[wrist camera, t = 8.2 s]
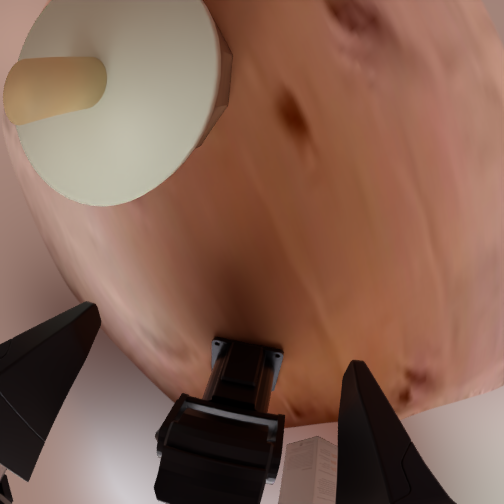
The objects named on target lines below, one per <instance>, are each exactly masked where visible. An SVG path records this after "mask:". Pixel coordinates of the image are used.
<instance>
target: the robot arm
mask: <svg viewBox="0 0 504 504" xmlns="http://www.w3.org/2000/svg"><path fill="white" fill-rule="evenodd" d="M100 326H101V318H100V314H99V311H98V307H97V305H96V304H95V303H92V302H89V301H86V302H83V303H81V304H79V305H78V306H75V307H73V308H71V309H69V310H67V311H65V312H63V313H61V314H59V315H57V316H55V317H53V318H51V319H49V320H47V321H45V322H43V323H41V324H39V325H37V326H35V327H33V328H31V329H29V330H27V331H25V332H23V333H21V334H19V335H17V336H16V337H14V338H13V339H10V340H8V341H6V342H4V343H2V344H0V504H12V502H13V498H12V495H11V491H10V487H9V483H8V479H7V476H6V475H5V472H6V470H7V469H8V470H10V471H11V472H13V473H14V474H16V475H17V476H19V477H20V478H22V479H23V480H25V481H27V482H28V481H29V480H30V477H31V474H32V472H33V469H34V467H35V465H36V462H37V460H38V457H39V455H40V453H41V450H42V448H43V446H44V443H45V442H44V441H46V439H47V436H48V434H49V432H50V430H51V427H52V425H53V423H54V421H55V419H56V417H57V415H58V413H59V410H60V409H61V407H62V404H63V402H64V400H65V398H66V396H67V394H68V392H69V390H70V388H71V387H72V384H73V383H74V381H75V379H76V377H77V375H78V373H79V371H80V369H81V368H82V366H83V364H84V362H85V360H86V358H87V356H88V353H89V351H90V349H91V347H92V344H93V342H94V340H95V337H96V335H97V333H98V330H99V328H100ZM283 355H284V352H283V351H282V350H280V349H276V348H270V347H264V346H259V345H254V344H249V343H244V342H239V341H234V340H229V339H224V338H220V337H214V338H213V341H212V373H211V375H210V378H209V381H208V384H207V387H206V390H205V392H204V395H203V398H202V399H199V398H196V397H192V396H189V395H188V394H185V393H182V394H181V396H180V398H179V399H177V400H176V402H175V404H174V406H173V407H172V409H171V411H170V412H169V414H168V416H167V417H166V419H165V421H164V422H163V424H162V426H161V427H160V429H159V430H158V431H157V432H156V434H155V438H156V440H157V442H158V443H157V456H158V457H159V458H161V461H160V466H159V471H158V475H157V478H156V481H155V485H154V490H155V494H156V498H157V500H158V501H161V502H164V503H166V504H260V502H261V498H262V494H263V490H264V486H265V484H271V485H272V484H274V482H275V479H276V476H277V473H278V469H279V465H280V460H281V454H282V445H283V434H284V422H285V415H282V414H278V415H276V414H270V413H267V412H268V406H269V401H270V395H271V391H274V388H275V385H276V381H277V378H278V374H279V371H280V367H281V363H282V360H283ZM335 504H457V503H455V502H454V501H453V500H452V499H451V498H450V497H449V496H448V494H447V493H446V492H445V490H444V489H443V487H442V486H441V485H440V483H439V482H438V481H437V479H436V478H435V476H434V475H433V474H432V472H431V471H430V469H429V468H428V466H427V465H426V464H425V462H424V461H423V459H422V457H421V456H420V454H419V452H418V451H417V449H416V447H415V445H414V444H413V442H411V439H410V437H409V435H408V434H407V432H406V430H405V428H404V427H403V425H402V423H401V421H400V420H399V418H398V416H397V415H396V413H395V411H394V410H393V408H392V406H391V405H390V403H389V401H388V399H387V398H386V396H385V395H384V393H383V391H382V390H381V388H380V386H379V385H378V383H377V381H376V380H375V378H374V376H373V375H372V373H371V372H370V370H369V368H368V367H367V365H366V363H365V362H364V361H360V360H352V361H351V362H350V364H349V366H348V368H347V370H346V372H345V373H344V376H343V380H342V390H341V399H340V408H339V417H338V457H337V483H336V500H335Z"/></svg>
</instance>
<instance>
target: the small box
mask: <svg viewBox="0 0 504 504" xmlns="http://www.w3.org/2000/svg"><path fill="white" fill-rule="evenodd" d="M337 457H338V446H336V445H334V444H332V443H330V442H328V441H326V440H325V439H323V438H321V437H319V436H316V437H312V438H309V439H306V440H302V441H298V442H294V443H291V444H287V445H286V453H285V461H284V468H283V475H282V482H281V488H280V495H279V502H278V504H335V500H336V483H337Z"/></svg>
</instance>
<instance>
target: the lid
mask: <svg viewBox="0 0 504 504" xmlns="http://www.w3.org/2000/svg"><path fill="white" fill-rule="evenodd" d="M220 77H221V52H220V43H219V37H218V34H217V30H216V26H215V23H214V21H213V18H212V16H211V14H210V12H209V10H208V8H207V6H206V5H205V3H204V2H203V1H202V0H52V1H51V2H50V3H49V4H48V5H47V6H46V7H45V9H44V10H43V11H42V13H41V14H40V15H39V17H38V18H37V20H36V21H35V23H34V25H33V26H32V28H31V30H30V32H29V33H28V36H27V38H26V40H25V42H24V45H23V47H22V50H21V53H20V56H19V59H18V62H17V63H16V64H15V65H14V66H13V67H12V68H11V70H10V72H9V74H8V76H7V78H6V82H5V85H4V93H3V103H4V109H5V112H6V115H7V117H8V118H9V120H10V121H11V122H12V123H13V124H15V125H16V129H17V132H18V136H19V139H20V142H21V145H22V147H23V150H24V152H25V154H26V156H27V158H28V160H29V161H30V163H31V165H32V166H33V168H34V169H35V171H36V172H37V173H38V174H39V176H40V177H41V178H42V179H43V180H44V181H45V182H46V183H47V184H48V185H49V186H50V187H51V188H53V189H54V190H55V191H57V192H58V193H59V194H61V195H63V196H65V197H66V198H68V199H70V200H73V201H75V202H78V203H81V204H86V205H90V206H113V205H119V204H122V203H126V202H130V201H132V200H134V199H136V198H139V197H141V196H143V195H144V194H146V193H147V192H149V191H151V190H152V189H154V188H155V187H157V186H158V185H160V184H161V183H162V182H164V181H165V180H166V179H167V178H169V177H170V176H171V175H172V174H173V173H175V172H176V171H177V170H178V168H179V167H180V166H181V165H182V164H183V163H184V162H185V161H186V160H187V159H188V157H189V156H190V154H191V153H192V152H193V150H194V149H195V147H196V146H197V144H198V143H199V141H200V139H201V137H202V135H203V134H204V132H205V130H206V128H207V125H208V123H209V120H210V118H211V115H212V113H213V110H214V106H215V103H216V99H217V95H218V90H219V83H220Z"/></svg>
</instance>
